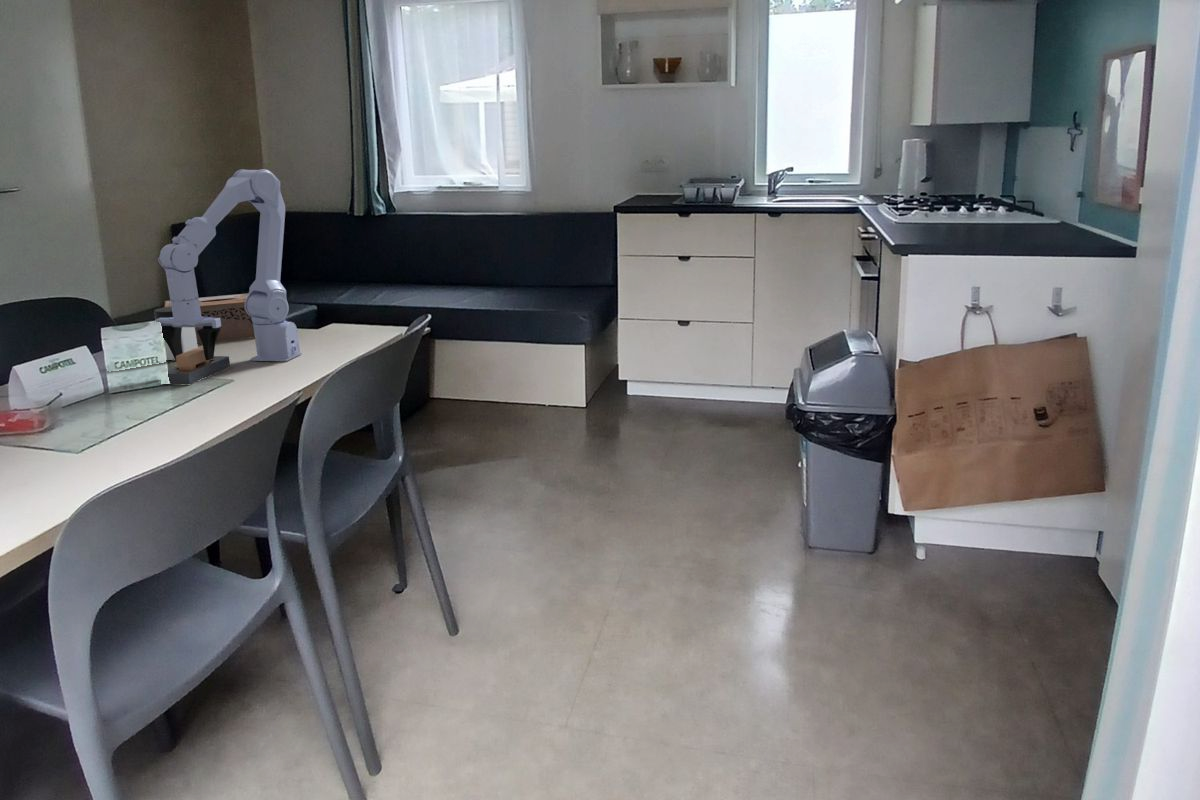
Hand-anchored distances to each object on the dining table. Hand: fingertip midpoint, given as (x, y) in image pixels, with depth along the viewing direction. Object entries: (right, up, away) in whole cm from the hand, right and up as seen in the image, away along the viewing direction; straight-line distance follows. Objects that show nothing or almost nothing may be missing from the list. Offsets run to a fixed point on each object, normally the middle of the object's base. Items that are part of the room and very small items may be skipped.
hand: (194, 358), depth 205 cm
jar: (-12, +1, +20) cm, 23 cm away
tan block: (0, -4, +1) cm, 4 cm away
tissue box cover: (-11, +8, +43) cm, 45 cm away
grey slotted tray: (0, -4, +1) cm, 4 cm away
